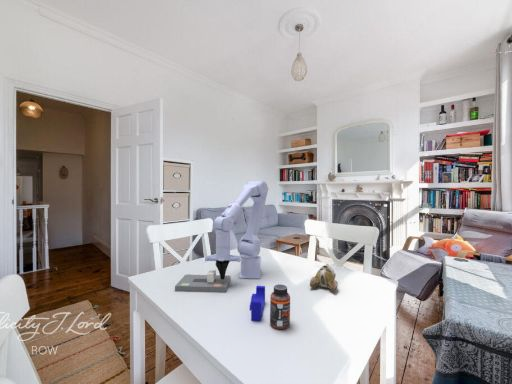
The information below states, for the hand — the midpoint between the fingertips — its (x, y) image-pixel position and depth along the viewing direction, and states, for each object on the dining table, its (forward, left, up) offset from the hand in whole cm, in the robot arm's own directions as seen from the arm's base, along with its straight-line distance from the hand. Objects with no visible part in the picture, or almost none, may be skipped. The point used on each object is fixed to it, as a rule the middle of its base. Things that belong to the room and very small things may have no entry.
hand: (222, 278), depth 97 cm
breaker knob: (+5, 0, -1) cm, 5 cm away
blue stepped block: (-15, +19, -3) cm, 24 cm away
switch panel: (+8, 0, -3) cm, 8 cm away
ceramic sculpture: (-42, -2, -3) cm, 43 cm away
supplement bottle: (-22, +26, -3) cm, 34 cm away
